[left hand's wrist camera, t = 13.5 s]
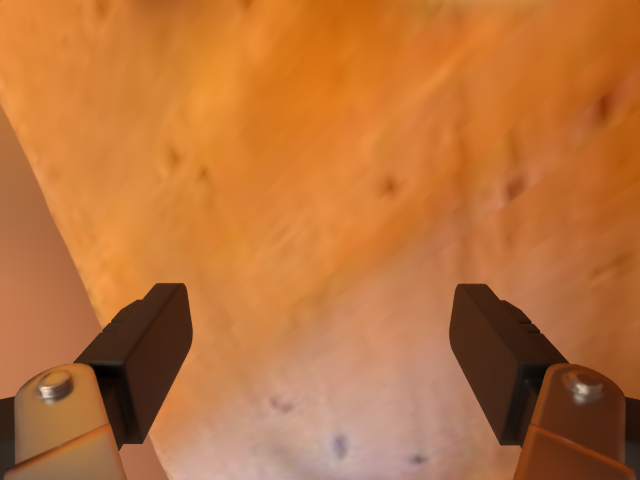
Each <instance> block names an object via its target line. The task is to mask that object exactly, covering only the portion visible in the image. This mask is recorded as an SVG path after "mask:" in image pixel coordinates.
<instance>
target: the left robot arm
mask: <svg viewBox="0 0 640 480" xmlns="http://www.w3.org/2000/svg"><path fill="white" fill-rule="evenodd" d="M192 337H193V329H192V321H191V315H190V308H189V301H188V294H187V289H186V286H185V284H183V283H157V284H155V285H154V286H153V288H152V289H151V290H150V291H149V292H148V294H147V295H146V296H145V297H144V298H143V299H142V300H136V301H134V302H133V303H131V304H130V305H128V306H126V307H125V308H123V309H121V310H120V312H119V313H118V314H117V315H116V316H115V317H114V318H113V319H112V320H111V323H109V324H108V325H107V326H106V327H105V328H104V329H103V332H102V333H100V334H99V335H98V336H97V337H96V338H95V339H94V340H93V341H92V343H91V344H90V345H89V346H88V347H87V348H86V349H85V350H84V351H83V353H82V354H81V355H80V356H79V357H78V358H77V359H76V360H75V361H74V362H73V363H71V364H64V365H60V366H57V367H53V368H51V369H48V370H46V371H44V372H42V373H40V374H38V375H36V376H35V377H33V378H32V379H30V380H29V381H27V382H26V383H25V384H24V385H23V386H22V387H21V388H20V389H19V391H18V392H17V394H16V396H14V397H10V398H5V399H0V480H127V478H126V474H125V471H124V468H123V464H122V461H121V458H120V454H119V451H120V449H121V447H122V445H123V444H143V442H144V440H145V438H146V436H147V434H148V432H149V430H150V428H151V426H152V424H153V422H154V420H155V418H156V416H157V414H158V412H159V410H160V408H161V406H162V404H163V402H164V400H165V398H166V396H167V394H168V392H169V390H170V388H171V386H172V384H173V382H174V380H175V378H176V376H177V374H178V372H179V370H180V368H181V366H182V364H183V362H184V360H185V358H186V356H187V354H188V352H189V350H190V347H191V344H192ZM449 338H450V344H451V348H452V351H453V353H454V355H455V357H456V359H457V361H458V363H459V365H460V366H461V368H462V370H463V372H464V374H465V376H466V378H467V380H468V382H469V384H470V386H471V388H472V390H473V392H474V394H475V396H476V398H477V400H478V402H479V404H480V406H481V408H482V410H483V412H484V414H485V416H486V418H487V420H488V422H489V424H490V426H491V428H492V430H493V431H494V433H495V435H496V437H497V439H498V441H499V443H500V445H520V447H521V448H522V451H521V454H520V458H519V461H518V464H517V468H516V471H515V474H514V477H513V480H640V400H637V399H633V398H628V397H625V396H624V394H623V392H622V391H621V389H620V388H619V387H618V386H617V385H616V384H615V383H614V382H613V381H611V380H610V379H608V378H607V377H606V376H604V375H602V374H600V373H598V372H596V371H594V370H592V369H589V368H587V367H583V366H580V365H576V364H570V363H569V362H568V361H567V360H566V359H565V358H564V357H563V356H562V354H561V353H560V352H559V351H558V350H557V349H556V348H555V347H554V346H553V345H552V344H551V342H550V341H549V340H548V339H547V338H546V337H545V336H544V335H543V334H540V330H539V329H538V328H537V327H536V326H535V325H534V324H532V323H531V321H530V319H529V318H528V317H527V316H526V315H525V314H524V313H523V312H522V311H521V310H520V309H518V308H517V307H515V306H513V305H512V304H510V303H508V302H507V301H505V300H499V298H498V297H497V296H496V295H495V294H494V293H493V291H492V290H491V289H490V288H489V287H488V286H487V285H486V284H458V285H457V287H456V290H455V295H454V302H453V308H452V315H451V322H450V329H449Z"/></svg>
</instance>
